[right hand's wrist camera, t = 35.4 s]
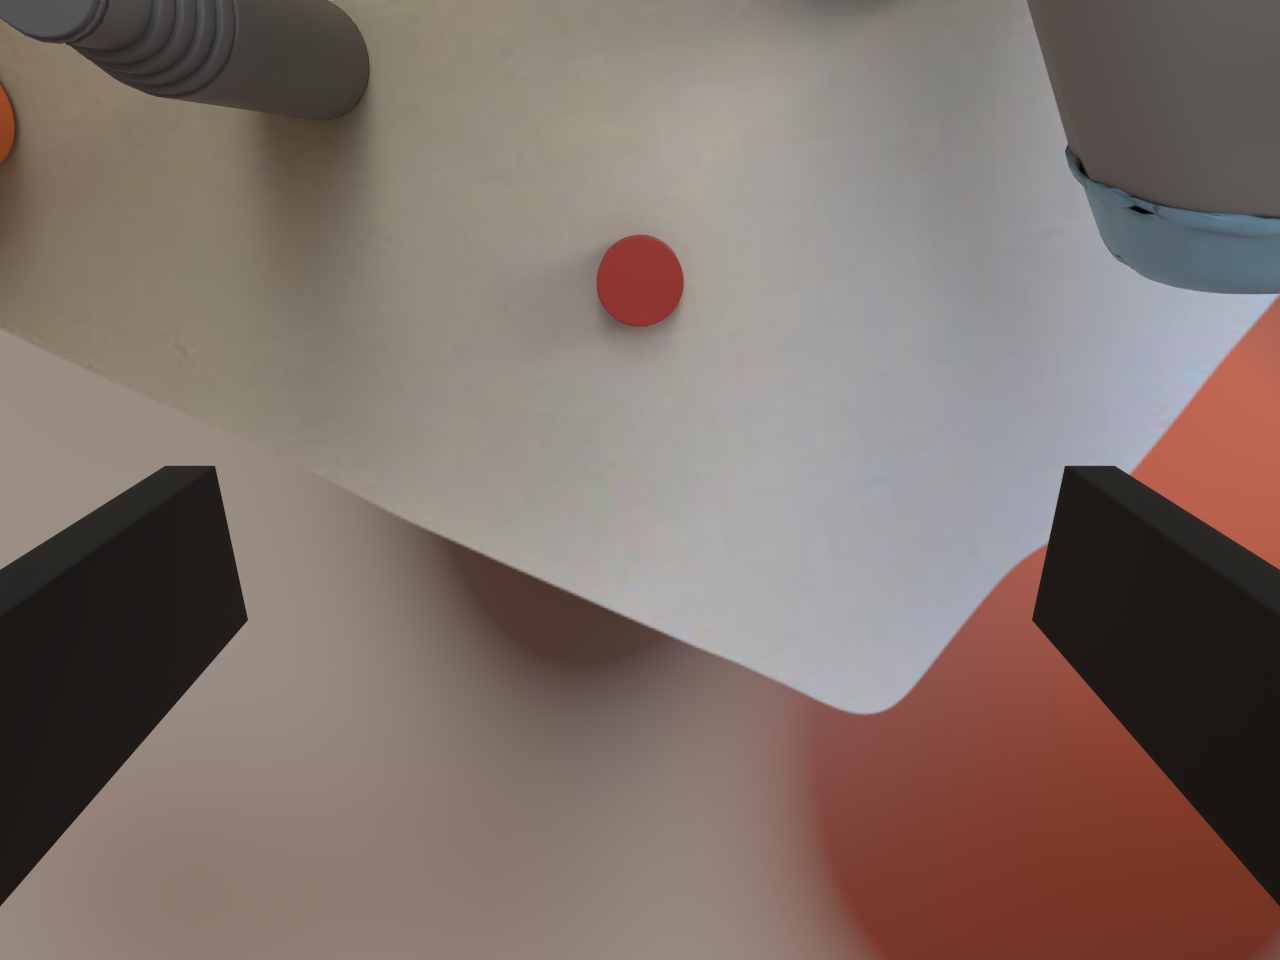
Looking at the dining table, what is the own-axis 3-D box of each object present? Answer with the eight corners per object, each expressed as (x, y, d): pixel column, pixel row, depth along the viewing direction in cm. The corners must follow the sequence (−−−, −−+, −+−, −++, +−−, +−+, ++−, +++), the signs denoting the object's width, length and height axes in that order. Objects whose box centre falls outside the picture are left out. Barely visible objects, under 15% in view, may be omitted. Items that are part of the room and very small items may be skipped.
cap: (581, 275, 42) (578, 280, 41) (642, 216, 41) (642, 218, 40) (637, 336, 44) (637, 343, 42) (698, 280, 43) (701, 285, 41)
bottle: (392, 66, 39) (177, -21, 21) (319, 144, 40) (58, 125, 22) (307, -32, 37) (-4, -219, 19) (234, 52, 39) (-121, -48, 21)
